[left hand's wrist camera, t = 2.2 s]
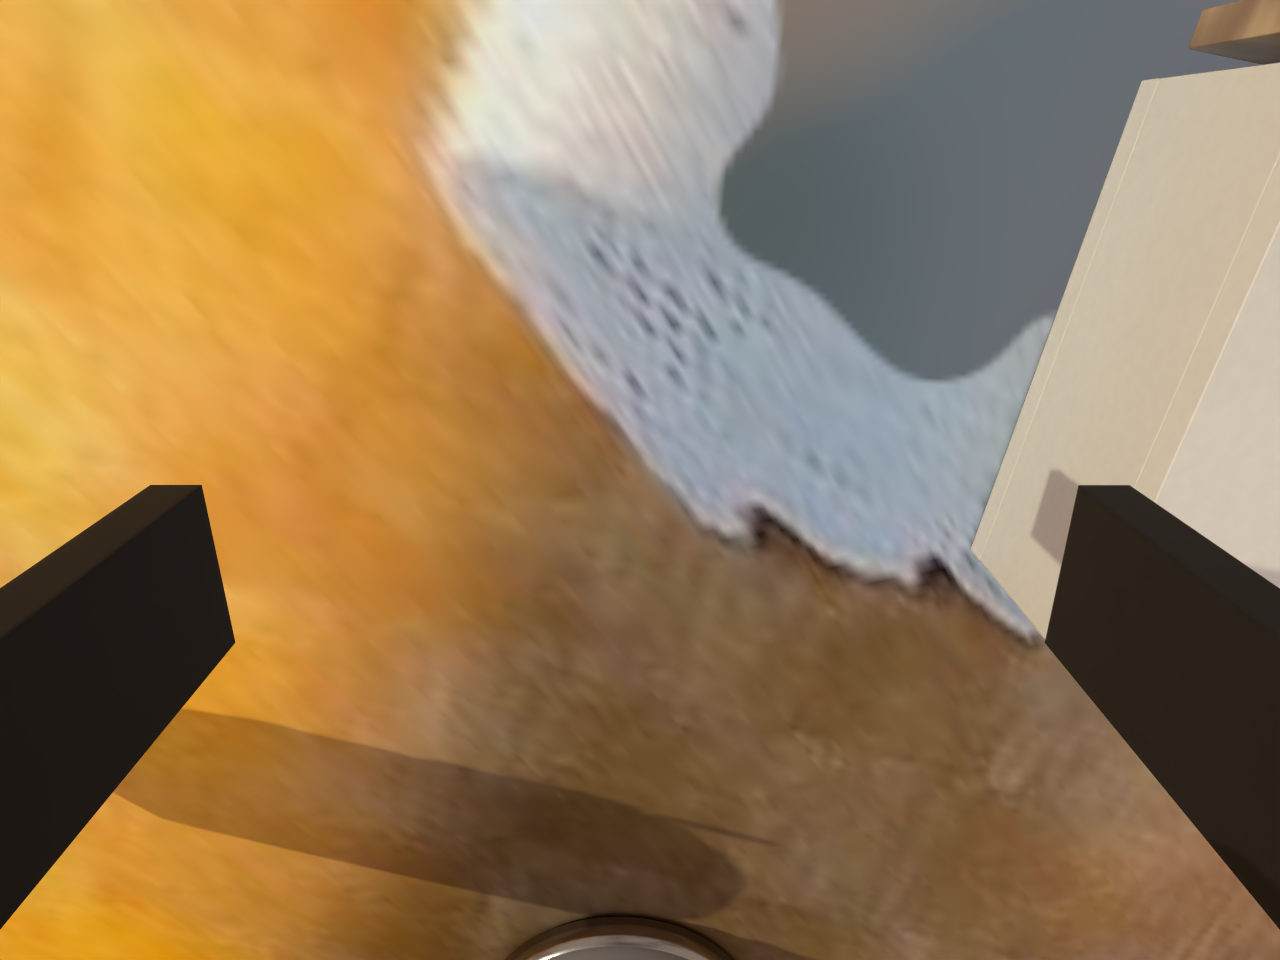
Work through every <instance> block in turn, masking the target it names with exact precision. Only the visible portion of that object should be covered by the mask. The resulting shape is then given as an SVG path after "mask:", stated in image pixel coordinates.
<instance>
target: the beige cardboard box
mask: <svg viewBox="0 0 1280 960" xmlns="http://www.w3.org/2000/svg"><path fill="white" fill-rule="evenodd" d="M1078 485H1130V486H1132V487H1133V488H1134V489H1136V490H1137V491H1139V492H1140V493H1142V494H1143V495H1145V496H1146V497H1148V498H1149V499H1150V500H1152V501H1153V502H1155V503H1156V504H1158V505H1159V506H1161V507H1162V508H1164V509H1165V510H1166V511H1168V512H1169V513H1171V514H1172V515H1174V516H1175V517H1177V518H1178V519H1180V520H1181V521H1182V522H1184V523H1185V524H1187V525H1188V526H1190V527H1191V528H1193V529H1194V530H1196V531H1197V532H1198V533H1200V534H1201V535H1203V536H1204V537H1206V538H1207V539H1209V540H1210V541H1212V542H1213V543H1214V544H1216V545H1217V546H1219V547H1220V548H1222V549H1223V550H1225V551H1226V552H1228V553H1229V554H1230V555H1232V556H1233V557H1235V558H1236V559H1238V560H1239V561H1241V562H1242V563H1244V564H1245V565H1246V566H1248V567H1249V568H1251V569H1252V570H1254V571H1255V572H1257V573H1258V574H1260V575H1261V576H1262V577H1264V578H1265V579H1267V580H1268V581H1270V582H1271V583H1273V584H1274V585H1276V586H1277V587H1278V588H1280V63H1272V64H1265V65H1257V66H1250V67H1242V68H1235V69H1228V70H1220V71H1213V72H1205V73H1198V74H1190V75H1183V76H1175V77H1167V78H1157V79H1150V80H1143V81H1142V82H1141V85H1140V87H1139V90H1138V93H1137V96H1136V98H1135V101H1134V104H1133V107H1132V109H1131V112H1130V115H1129V117H1128V120H1127V123H1126V126H1125V128H1124V131H1123V134H1122V137H1121V139H1120V142H1119V145H1118V147H1117V150H1116V153H1115V156H1114V158H1113V161H1112V164H1111V167H1110V169H1109V172H1108V175H1107V178H1106V180H1105V183H1104V186H1103V189H1102V191H1101V194H1100V197H1099V199H1098V202H1097V205H1096V208H1095V210H1094V213H1093V216H1092V219H1091V221H1090V224H1089V227H1088V230H1087V232H1086V235H1085V238H1084V241H1083V243H1082V246H1081V249H1080V252H1079V254H1078V257H1077V260H1076V262H1075V265H1074V268H1073V271H1072V273H1071V276H1070V279H1069V281H1068V284H1067V287H1066V290H1065V292H1064V295H1063V298H1062V301H1061V303H1060V306H1059V309H1058V312H1057V314H1056V317H1055V320H1054V323H1053V325H1052V328H1051V331H1050V333H1049V336H1048V339H1047V342H1046V344H1045V347H1044V350H1043V353H1042V355H1041V358H1040V361H1039V364H1038V366H1037V369H1036V372H1035V374H1034V377H1033V380H1032V383H1031V385H1030V388H1029V391H1028V394H1027V396H1026V399H1025V402H1024V405H1023V407H1022V410H1021V413H1020V415H1019V418H1018V421H1017V424H1016V426H1015V429H1014V432H1013V435H1012V437H1011V440H1010V443H1009V446H1008V448H1007V451H1006V454H1005V457H1004V459H1003V462H1002V465H1001V467H1000V470H999V473H998V476H997V478H996V481H995V484H994V487H993V489H992V492H991V495H990V498H989V500H988V503H987V506H986V508H985V511H984V514H983V517H982V519H981V522H980V525H979V528H978V530H977V533H976V536H975V539H974V541H973V544H972V547H971V551H972V552H973V553H974V554H975V556H976V557H977V558H978V559H979V560H980V561H981V562H982V564H983V565H984V566H985V567H986V569H987V570H988V571H989V572H990V573H991V575H992V576H993V577H994V578H995V579H996V581H997V582H998V583H999V584H1000V586H1001V587H1002V588H1003V589H1004V590H1005V592H1006V593H1007V594H1008V595H1009V596H1010V598H1011V599H1012V600H1013V601H1014V603H1015V604H1016V605H1017V606H1018V607H1019V609H1020V610H1021V611H1022V612H1023V614H1024V615H1025V616H1026V617H1027V618H1028V620H1029V621H1030V622H1031V623H1032V624H1033V626H1034V627H1035V628H1036V629H1037V631H1038V632H1039V633H1040V634H1041V635H1042V637H1043V638H1044V639H1046V634H1047V630H1048V625H1049V620H1050V616H1051V611H1052V606H1053V602H1054V597H1055V592H1056V588H1057V583H1058V578H1059V574H1060V569H1061V564H1062V560H1063V555H1064V550H1065V546H1066V541H1067V536H1068V531H1069V527H1070V522H1071V517H1072V513H1073V508H1074V503H1075V499H1076V494H1077V489H1078Z"/></svg>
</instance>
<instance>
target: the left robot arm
mask: <svg viewBox="0 0 1280 960" xmlns="http://www.w3.org/2000/svg"><path fill="white" fill-rule="evenodd" d="M234 643H235V639H234V634H233V630H232V625H231V620H230V616H229V611H228V606H227V602H226V597H225V592H224V588H223V583H222V578H221V574H220V569H219V564H218V560H217V555H216V550H215V546H214V541H213V536H212V531H211V527H210V522H209V517H208V513H207V508H206V503H205V499H204V494H203V489H202V485H150V486H148V487H147V488H146V489H144V490H143V491H141V492H140V493H138V494H137V495H135V496H134V497H132V498H131V499H130V500H128V501H127V502H125V503H124V504H122V505H121V506H119V507H118V508H116V509H115V510H114V511H112V512H111V513H109V514H108V515H106V516H105V517H103V518H102V519H100V520H99V521H98V522H96V523H95V524H93V525H92V526H90V527H89V528H87V529H86V530H84V531H83V532H82V533H80V534H79V535H77V536H76V537H74V538H73V539H71V540H70V541H68V542H67V543H66V544H64V545H63V546H61V547H60V548H58V549H57V550H55V551H54V552H52V553H51V554H50V555H48V556H47V557H45V558H44V559H42V560H41V561H39V562H38V563H36V564H35V565H34V566H32V567H31V568H29V569H28V570H26V571H25V572H23V573H22V574H20V575H19V576H18V577H16V578H15V579H13V580H12V581H10V582H9V583H7V584H6V585H4V586H3V587H2V588H0V929H1V928H2V927H3V925H4V924H5V923H6V922H7V921H8V919H9V918H10V917H11V916H12V914H13V913H14V912H15V911H16V910H17V908H18V907H19V906H20V905H21V903H22V902H23V901H24V900H25V899H26V897H27V896H28V895H29V894H30V892H31V891H32V890H33V889H34V888H35V886H36V885H37V884H38V883H39V881H40V880H41V879H42V878H43V877H44V875H45V874H46V873H47V872H48V870H49V869H50V868H51V867H52V866H53V864H54V863H55V862H56V861H57V859H58V858H59V857H60V856H61V855H62V853H63V852H64V851H65V850H66V848H67V847H68V846H69V845H70V844H71V842H72V841H73V840H74V839H75V838H76V836H77V835H78V834H79V833H80V831H81V830H82V829H83V828H84V827H85V825H86V824H87V823H88V822H89V820H90V819H91V818H92V817H93V816H94V814H95V813H96V812H97V811H98V809H99V808H100V807H101V806H102V805H103V803H104V802H105V801H106V800H107V798H108V797H109V796H110V795H111V794H112V792H113V791H114V790H115V789H116V787H117V786H118V785H119V784H120V783H121V781H122V780H123V779H124V778H125V776H126V775H127V774H128V773H129V772H130V770H131V769H132V768H133V767H134V765H135V764H136V763H137V762H138V761H139V759H140V758H141V757H142V756H143V754H144V753H145V752H146V751H147V750H148V748H149V747H150V746H151V745H152V744H153V742H154V741H155V740H156V739H157V737H158V736H159V735H160V734H161V733H162V731H163V730H164V729H165V728H166V726H167V725H168V724H169V723H170V722H171V720H172V719H173V718H174V717H175V715H176V714H177V713H178V712H179V711H180V709H181V708H182V707H183V706H184V704H185V703H186V702H187V701H188V700H189V698H190V697H191V696H192V695H193V693H194V692H195V691H196V690H197V689H198V687H199V686H200V685H201V684H202V682H203V681H204V680H205V679H206V678H207V676H208V675H209V674H210V673H211V671H212V670H213V669H214V668H215V667H216V665H217V664H218V663H219V662H220V661H221V659H222V658H223V657H224V656H225V654H226V653H227V652H228V651H229V650H230V648H231V647H232V646H233V645H234ZM1045 643H1046V645H1047V646H1048V647H1049V648H1050V650H1051V651H1052V652H1053V653H1054V654H1055V656H1056V657H1057V658H1058V659H1059V661H1060V662H1061V663H1062V664H1063V665H1064V667H1065V668H1066V669H1067V670H1068V671H1069V673H1070V674H1071V675H1072V676H1073V678H1074V679H1075V680H1076V681H1077V682H1078V684H1079V685H1080V686H1081V687H1082V689H1083V690H1084V691H1085V692H1086V693H1087V695H1088V696H1089V697H1090V698H1091V700H1092V701H1093V702H1094V703H1095V704H1096V706H1097V707H1098V708H1099V709H1100V711H1101V712H1102V713H1103V714H1104V715H1105V717H1106V718H1107V719H1108V720H1109V722H1110V723H1111V724H1112V725H1113V726H1114V728H1115V729H1116V730H1117V731H1118V733H1119V734H1120V735H1121V736H1122V737H1123V739H1124V740H1125V741H1126V742H1127V744H1128V745H1129V746H1130V747H1131V748H1132V750H1133V751H1134V752H1135V753H1136V754H1137V756H1138V757H1139V758H1140V759H1141V761H1142V762H1143V763H1144V764H1145V765H1146V767H1147V768H1148V769H1149V770H1150V772H1151V773H1152V774H1153V775H1154V776H1155V778H1156V779H1157V780H1158V781H1159V783H1160V784H1161V785H1162V786H1163V787H1164V789H1165V790H1166V791H1167V792H1168V794H1169V795H1170V796H1171V797H1172V798H1173V800H1174V801H1175V802H1176V803H1177V805H1178V806H1179V807H1180V808H1181V809H1182V811H1183V812H1184V813H1185V814H1186V816H1187V817H1188V818H1189V819H1190V820H1191V822H1192V823H1193V824H1194V825H1195V827H1196V828H1197V829H1198V830H1199V831H1200V833H1201V834H1202V835H1203V836H1204V838H1205V839H1206V840H1207V841H1208V842H1209V844H1210V845H1211V846H1212V847H1213V848H1214V850H1215V851H1216V852H1217V853H1218V855H1219V856H1220V857H1221V858H1222V859H1223V861H1224V862H1225V863H1226V864H1227V866H1228V867H1229V868H1230V869H1231V870H1232V872H1233V873H1234V874H1235V875H1236V877H1237V878H1238V879H1239V880H1240V881H1241V883H1242V884H1243V885H1244V886H1245V888H1246V889H1247V890H1248V891H1249V892H1250V894H1251V895H1252V896H1253V897H1254V899H1255V900H1256V901H1257V902H1258V903H1259V905H1260V906H1261V907H1262V908H1263V910H1264V911H1265V912H1266V913H1267V914H1268V916H1269V917H1270V918H1271V919H1272V921H1273V922H1274V923H1275V924H1276V925H1277V927H1278V928H1279V929H1280V588H1278V587H1277V586H1276V585H1274V584H1273V583H1271V582H1270V581H1268V580H1267V579H1265V578H1264V577H1262V576H1261V575H1260V574H1258V573H1257V572H1255V571H1254V570H1252V569H1251V568H1249V567H1248V566H1246V565H1245V564H1244V563H1242V562H1241V561H1239V560H1238V559H1236V558H1235V557H1233V556H1232V555H1230V554H1229V553H1228V552H1226V551H1225V550H1223V549H1222V548H1220V547H1219V546H1217V545H1216V544H1214V543H1213V542H1212V541H1210V540H1209V539H1207V538H1206V537H1204V536H1203V535H1201V534H1200V533H1198V532H1197V531H1196V530H1194V529H1193V528H1191V527H1190V526H1188V525H1187V524H1185V523H1184V522H1182V521H1181V520H1180V519H1178V518H1177V517H1175V516H1174V515H1172V514H1171V513H1169V512H1168V511H1166V510H1165V509H1164V508H1162V507H1161V506H1159V505H1158V504H1156V503H1155V502H1153V501H1152V500H1150V499H1149V498H1148V497H1146V496H1145V495H1143V494H1142V493H1140V492H1139V491H1137V490H1136V489H1134V488H1133V487H1132V486H1130V485H1078V489H1077V494H1076V499H1075V503H1074V508H1073V513H1072V517H1071V522H1070V527H1069V531H1068V536H1067V541H1066V546H1065V550H1064V555H1063V560H1062V564H1061V569H1060V574H1059V578H1058V583H1057V588H1056V592H1055V597H1054V602H1053V606H1052V611H1051V616H1050V620H1049V625H1048V630H1047V634H1046V639H1045ZM506 960H732V959H731V958H730V957H729V956H728V955H727V954H726V953H725V952H724V951H722V950H721V949H720V948H718V947H717V946H716V945H715V944H713V943H711V942H710V941H708V940H707V939H705V938H703V937H701V936H699V935H697V934H695V933H693V932H691V931H689V930H686V929H684V928H681V927H678V926H675V925H672V924H669V923H665V922H660V921H656V920H651V919H644V918H635V917H601V918H593V919H585V920H581V921H576V922H571V923H568V924H565V925H561V926H558V927H556V928H553V929H550V930H548V931H546V932H544V933H541V934H539V935H537V936H535V937H534V938H532V939H530V940H529V941H527V942H526V943H524V944H523V945H521V946H520V947H519V948H517V949H516V950H515V951H514V952H513V953H512V954H511V955H510V956H508V958H507V959H506Z"/></svg>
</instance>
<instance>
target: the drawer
mask: <svg viewBox="0 0 1280 960" xmlns="http://www.w3.org/2000/svg"><path fill="white" fill-rule="evenodd" d="M1189 49H1191V50H1196V51H1201V52H1205V53H1210V54H1215V55H1220V56H1225V57H1229V58H1234V59H1239V60H1244V61H1249V62H1253V63H1258V64H1263V65H1265V64H1272V63H1280V0H1241V1H1237V2H1233V3H1229V4H1225V5H1221V6H1216V7H1212V8H1208V9H1204V10H1203V11H1202V13H1201V16H1200V19H1199V21H1198V24H1197V27H1196V29H1195V32H1194V35H1193V37H1192V40H1191V42H1190V45H1189Z"/></svg>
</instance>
